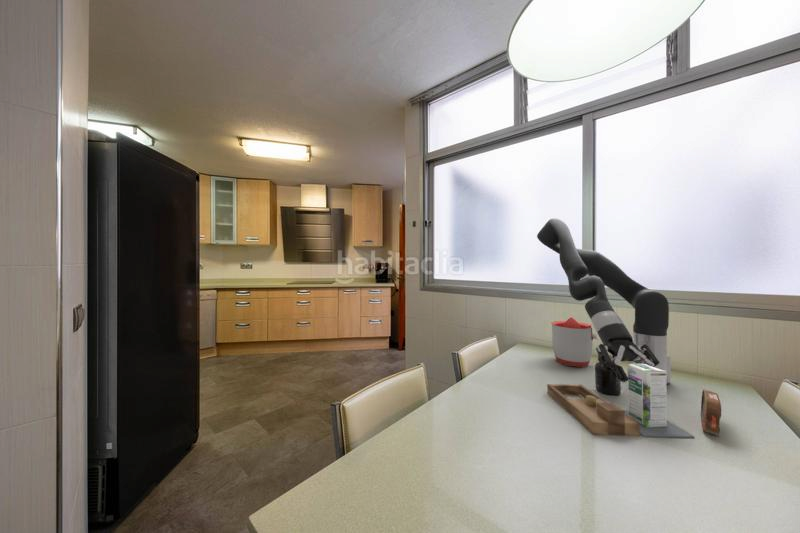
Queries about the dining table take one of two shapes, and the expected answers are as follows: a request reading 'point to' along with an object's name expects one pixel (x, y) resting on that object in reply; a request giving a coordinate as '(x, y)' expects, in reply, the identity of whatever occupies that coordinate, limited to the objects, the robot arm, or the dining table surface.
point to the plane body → (593, 411)
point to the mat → (663, 431)
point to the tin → (710, 412)
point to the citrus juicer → (572, 342)
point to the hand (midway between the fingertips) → (641, 381)
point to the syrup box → (647, 395)
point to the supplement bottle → (606, 380)
